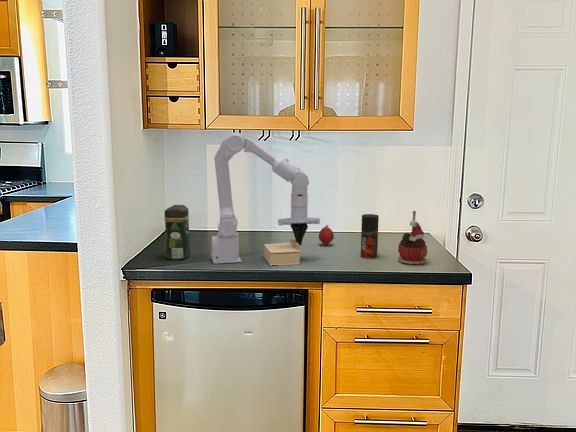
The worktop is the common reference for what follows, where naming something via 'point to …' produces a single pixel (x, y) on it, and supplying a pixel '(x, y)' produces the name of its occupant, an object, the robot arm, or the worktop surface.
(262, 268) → the worktop surface
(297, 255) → the base
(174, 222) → the coffee jar
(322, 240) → the onion
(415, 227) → the cake
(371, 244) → the deodorant
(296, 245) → the lid
